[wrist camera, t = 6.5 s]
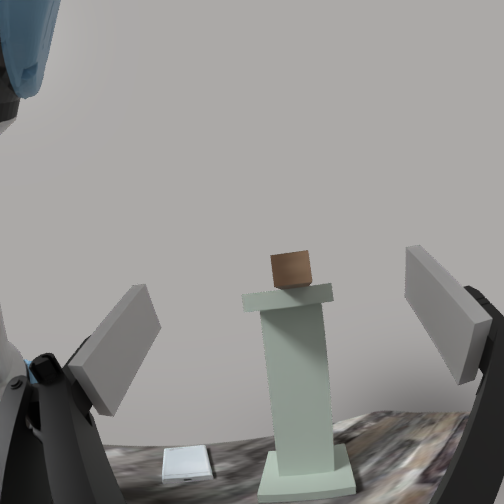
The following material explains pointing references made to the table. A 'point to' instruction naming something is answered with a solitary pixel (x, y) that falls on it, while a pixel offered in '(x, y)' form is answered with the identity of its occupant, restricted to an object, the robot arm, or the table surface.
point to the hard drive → (186, 464)
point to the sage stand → (299, 398)
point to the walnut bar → (291, 270)
